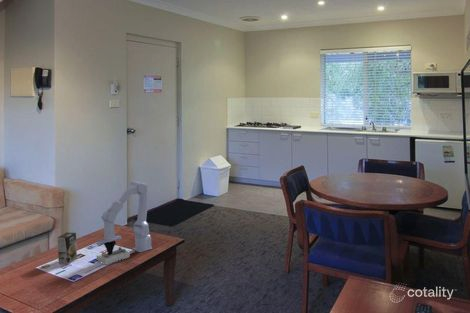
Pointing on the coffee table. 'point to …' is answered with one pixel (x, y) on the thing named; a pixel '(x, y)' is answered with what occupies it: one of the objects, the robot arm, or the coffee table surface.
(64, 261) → the coffee box
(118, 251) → the strap
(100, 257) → the latch block
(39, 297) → the coffee table surface
